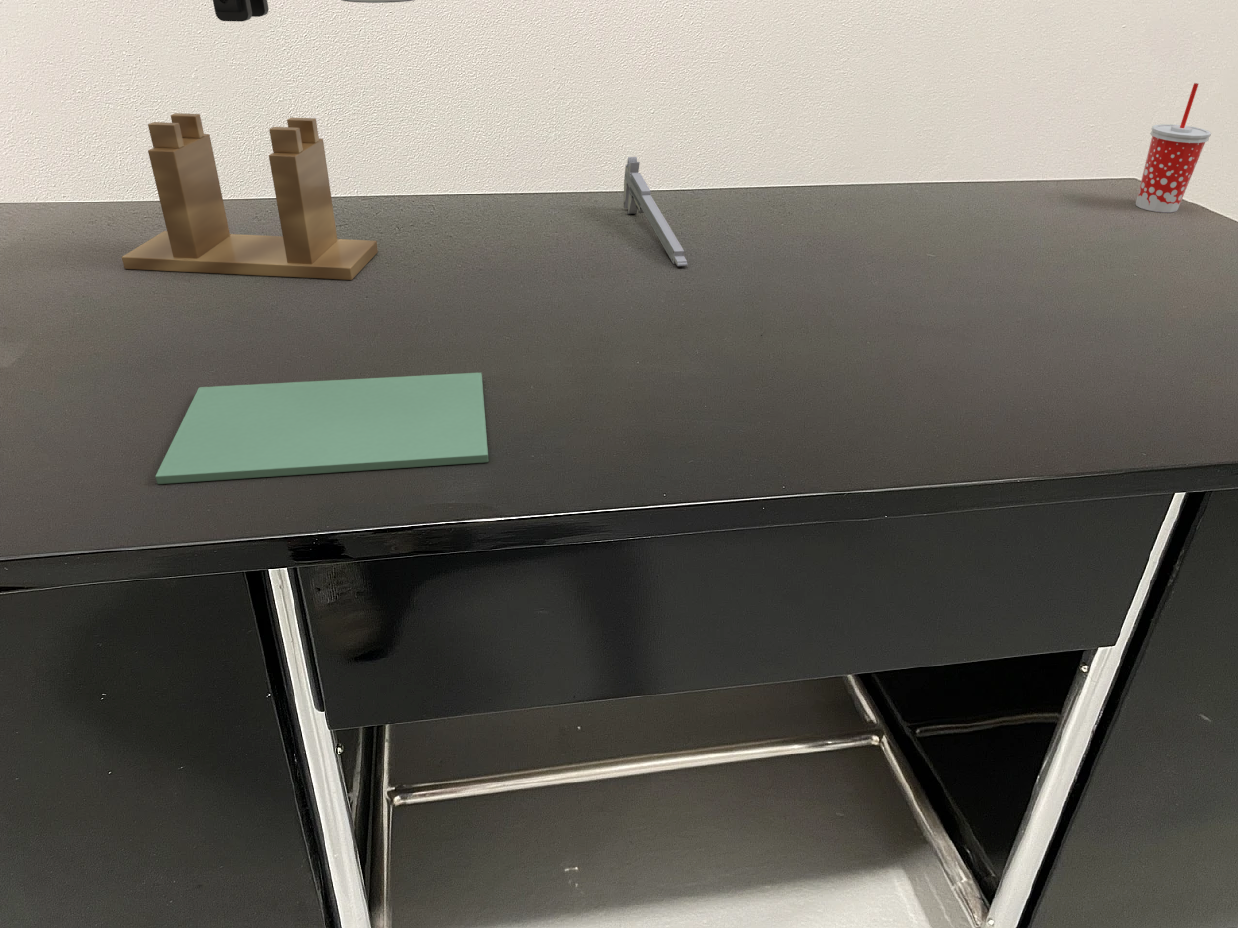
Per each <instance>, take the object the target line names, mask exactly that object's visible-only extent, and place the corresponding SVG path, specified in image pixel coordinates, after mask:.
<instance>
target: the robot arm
mask: <svg viewBox="0 0 1238 928" xmlns="http://www.w3.org/2000/svg"><path fill="white" fill-rule="evenodd" d="M212 4H213V8H214V13H215V16H216V18H217V19H218V20H219V21H220V22H221V21H222V22H242V23H243V22H246V21H249V20H251V19H252V18H260V17H264V16H266V15H267V14H268V13H269V3H268V0H212Z"/></svg>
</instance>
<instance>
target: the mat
mask: <svg viewBox="0 0 1238 928" xmlns="http://www.w3.org/2000/svg"><path fill="white" fill-rule="evenodd" d="M484 397H485V396H484V385H483V373H482V372H465V373H446V374H445V373H443V374H424V375H407V376H406V375H405V376H387V377H385V376H384V377H370V378H351V379H329V380H311V381H294V382H292V381H290V382H274V383H273V382H271V383H256V384H253V383H252V384H236V385H219V386H218V385H217V386H215V385H214V386H199V387H198V389H197V391H196V392H195V394H194V396H193V398H192V401H191V402H190V405H189V406H188V409H187V410H186V413H185V415H184V417H183V419H182V421H181V423H180V425H179V427H178V429H177V431H176V433H175V436H174V437H173V439H172V441H171V443H170V445H169V448H168V450H167V452H166V453H165V456H164V457H163V460H162V462H161V464H160V466H159V468H158V470H157V471H156V473H155V480H156V484H157V485H165V484H166V485H168V484H181V483H182V484H183V483H197V482H198V483H199V482H214V481H226V480H227V481H228V480H242V479H259V478H271V477H272V478H273V477H274V478H275V477H287V476H303V475H318V474H334V473H348V472H361V471H362V472H364V471H365V472H366V471H378V470H392V469H407V468H408V469H409V468H422V467H437V466H439V467H440V466H451V465H452V466H453V465H454V466H455V465H470V464H483V463H484V464H485V463H489V449H488V438H487V437H488V435H487V426H486V425H487V423H486V422H487V421H486V412H485V410H486V409H485V399H484Z"/></svg>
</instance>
